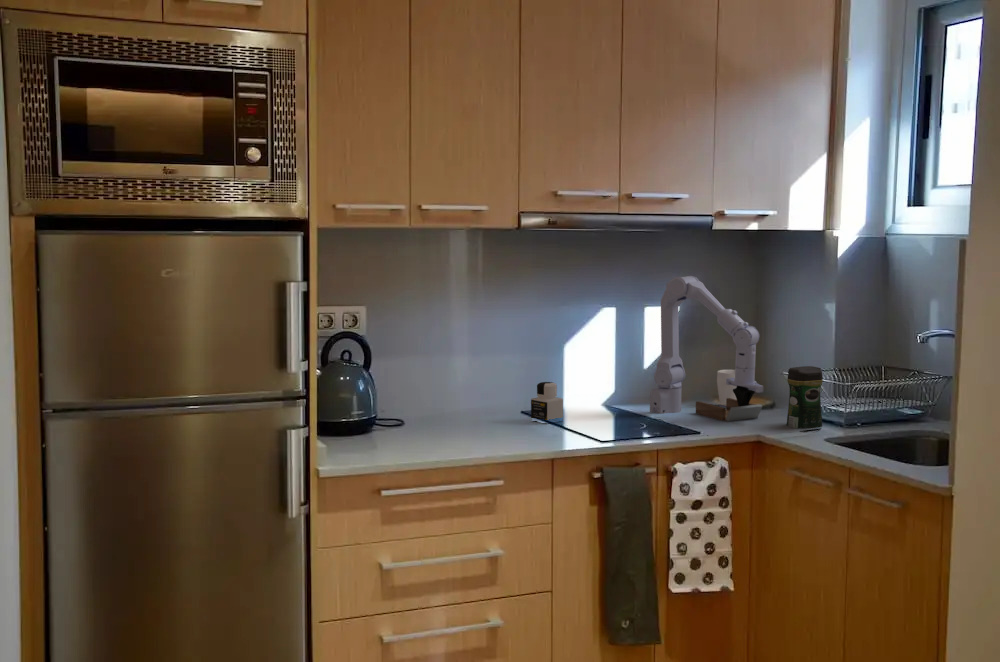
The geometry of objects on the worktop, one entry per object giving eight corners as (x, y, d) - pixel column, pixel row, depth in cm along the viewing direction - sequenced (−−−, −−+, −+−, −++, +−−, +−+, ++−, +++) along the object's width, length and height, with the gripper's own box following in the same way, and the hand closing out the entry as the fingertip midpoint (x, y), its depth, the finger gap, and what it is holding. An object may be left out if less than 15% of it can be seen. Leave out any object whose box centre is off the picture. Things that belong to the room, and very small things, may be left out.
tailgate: (726, 423, 292) (732, 409, 289) (725, 421, 293) (730, 407, 290) (756, 419, 297) (762, 406, 294) (754, 417, 298) (760, 404, 295)
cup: (727, 404, 326) (728, 368, 324) (750, 408, 319) (751, 371, 318) (710, 407, 320) (711, 371, 319) (733, 411, 313) (734, 374, 312)
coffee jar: (809, 425, 290) (811, 363, 288) (826, 431, 283) (828, 367, 281) (781, 428, 287) (782, 365, 285) (797, 433, 280) (799, 369, 278)
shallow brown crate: (722, 424, 293) (722, 408, 292) (695, 417, 304) (695, 401, 304) (756, 420, 298) (756, 404, 298) (729, 413, 310) (729, 398, 309)
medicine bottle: (530, 421, 301) (530, 382, 300) (547, 418, 306) (546, 380, 304) (547, 424, 296) (546, 385, 294) (563, 421, 300) (563, 382, 299)
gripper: (772, 370, 287) (770, 415, 289) (739, 362, 300) (738, 406, 302) (753, 371, 284) (751, 417, 286) (721, 364, 297) (719, 408, 299)
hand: (743, 412), depth 294 cm, fingers closed, pressing on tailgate
